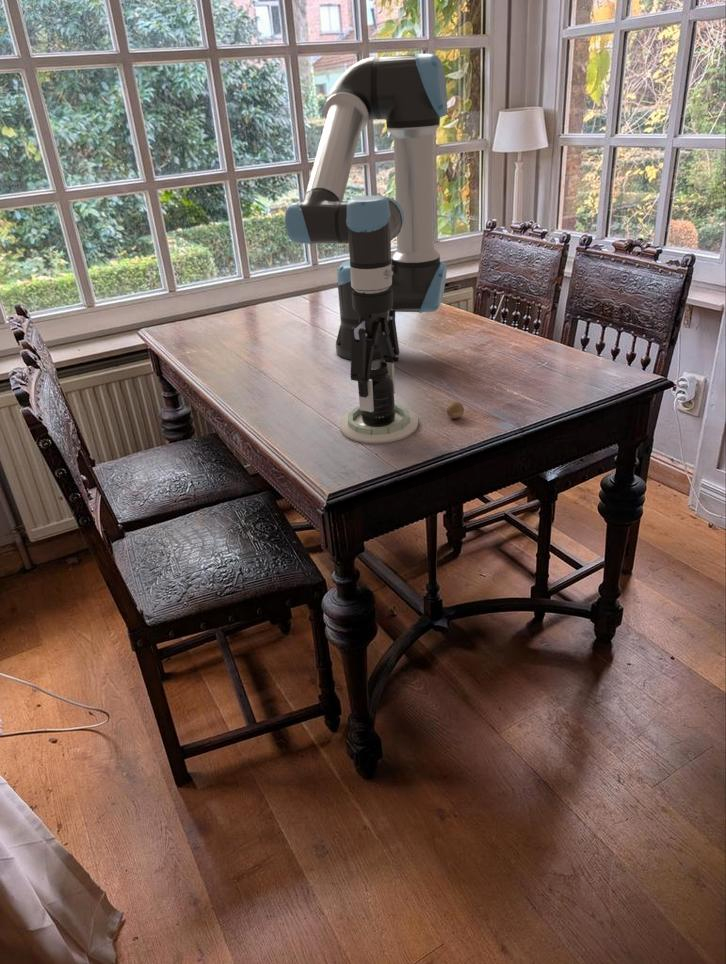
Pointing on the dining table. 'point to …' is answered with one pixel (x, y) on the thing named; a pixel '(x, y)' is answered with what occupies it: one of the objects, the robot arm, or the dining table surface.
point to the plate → (367, 434)
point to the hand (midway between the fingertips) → (377, 401)
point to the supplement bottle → (380, 397)
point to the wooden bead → (455, 410)
